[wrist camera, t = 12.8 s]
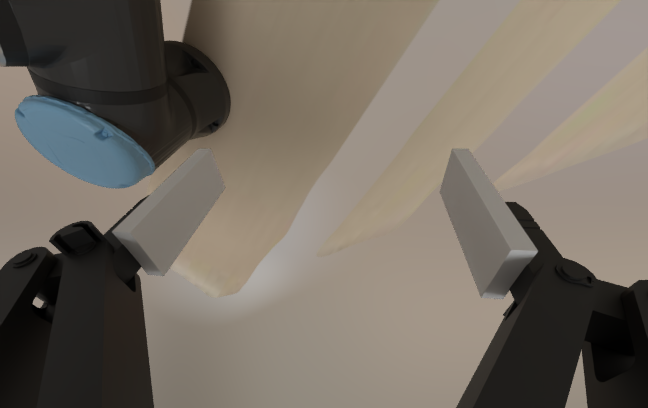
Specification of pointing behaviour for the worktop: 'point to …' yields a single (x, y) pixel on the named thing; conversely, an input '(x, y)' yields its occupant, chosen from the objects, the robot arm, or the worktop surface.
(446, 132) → the worktop surface
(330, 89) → the worktop surface
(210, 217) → the worktop surface
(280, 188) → the worktop surface
